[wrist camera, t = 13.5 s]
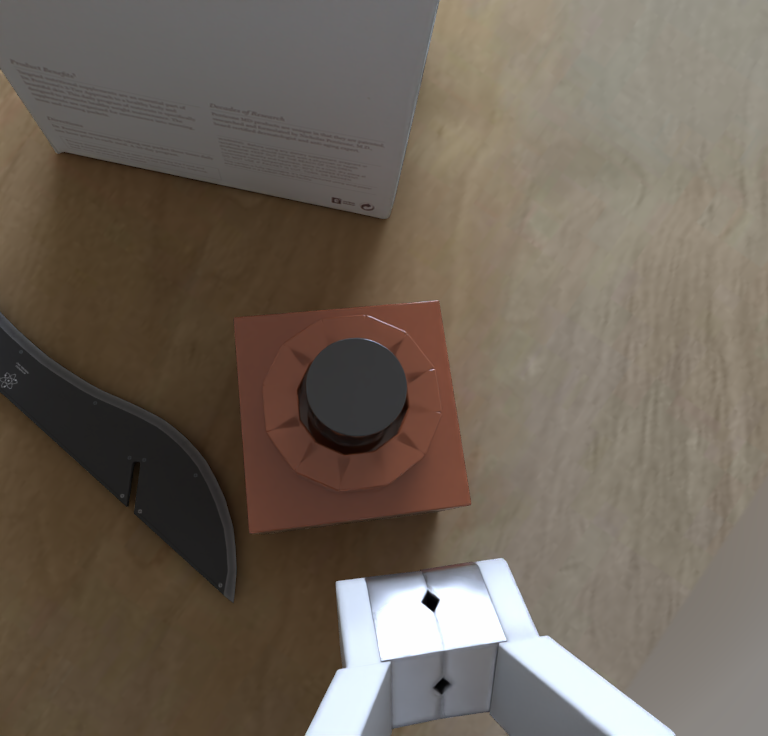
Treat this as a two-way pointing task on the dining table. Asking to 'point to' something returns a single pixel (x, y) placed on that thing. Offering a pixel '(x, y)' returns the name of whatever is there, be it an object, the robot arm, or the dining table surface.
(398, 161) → the supplement box
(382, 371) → the dark grey cylinder
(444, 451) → the button base
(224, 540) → the knife
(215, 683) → the dining table surface
